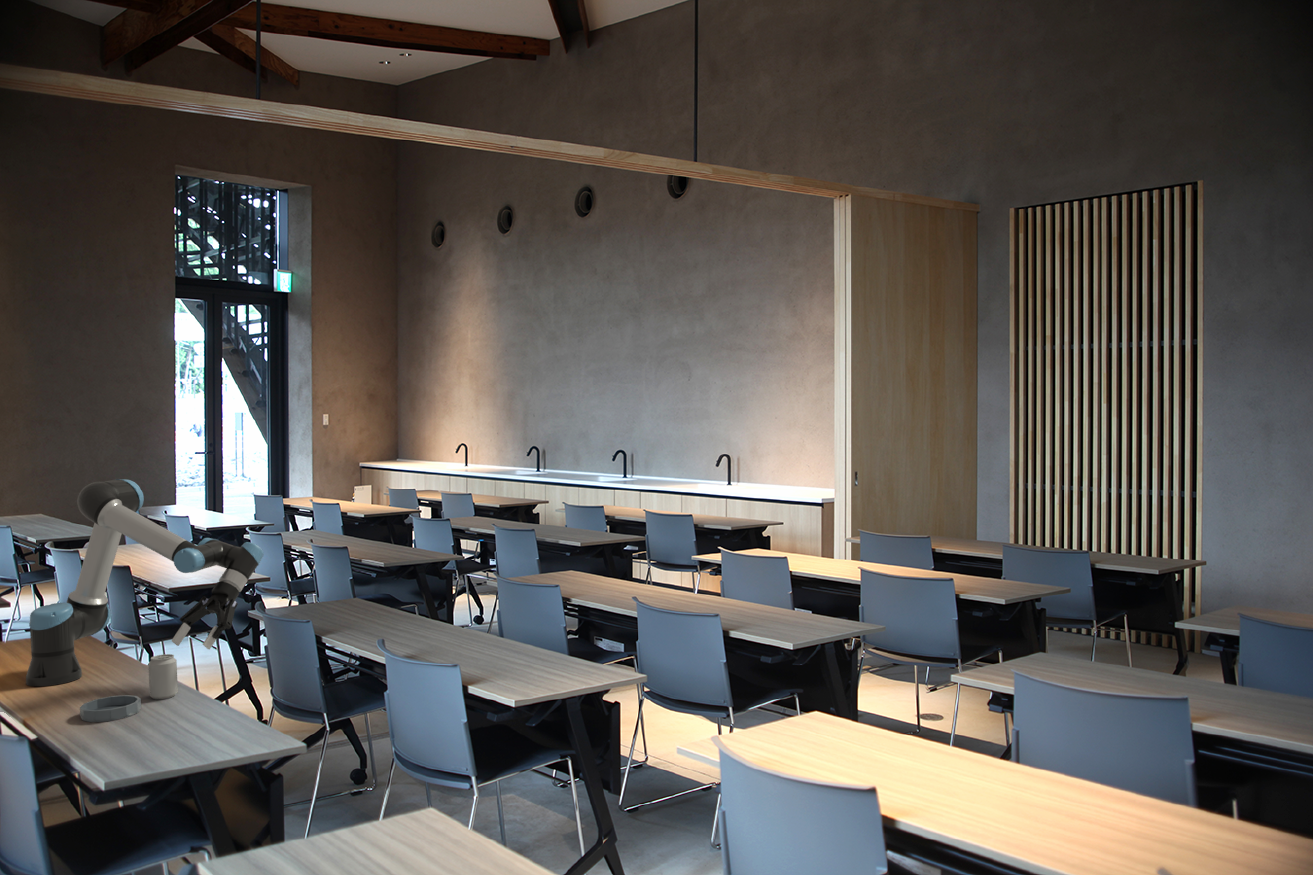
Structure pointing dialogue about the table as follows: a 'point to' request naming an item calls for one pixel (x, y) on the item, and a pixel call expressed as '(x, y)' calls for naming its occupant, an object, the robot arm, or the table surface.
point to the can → (163, 676)
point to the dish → (110, 708)
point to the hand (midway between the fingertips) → (190, 645)
